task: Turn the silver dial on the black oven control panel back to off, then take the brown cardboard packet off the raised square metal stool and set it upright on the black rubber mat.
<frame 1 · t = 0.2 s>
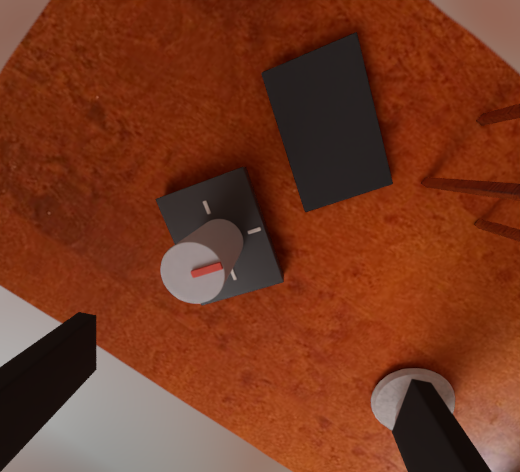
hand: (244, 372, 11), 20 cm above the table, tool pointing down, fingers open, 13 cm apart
square metal stool: (480, 174, 27), on the table
table lamp: (409, 396, 34), on the table
mat: (327, 131, 27), on the table
oven dial: (208, 255, 24), point 7 cm above the table, hinge at 90.0°
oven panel: (224, 236, 31), on the table
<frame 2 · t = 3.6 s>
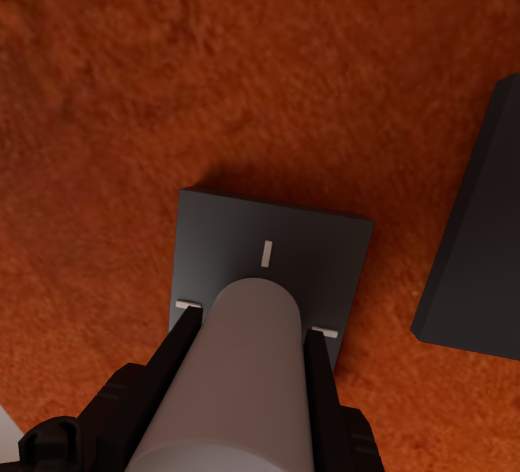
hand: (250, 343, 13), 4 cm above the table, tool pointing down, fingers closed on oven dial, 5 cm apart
oven dial: (242, 382, 11), point 7 cm above the table, hinge at 90.0°, touching gripper
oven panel: (259, 300, 17), on the table
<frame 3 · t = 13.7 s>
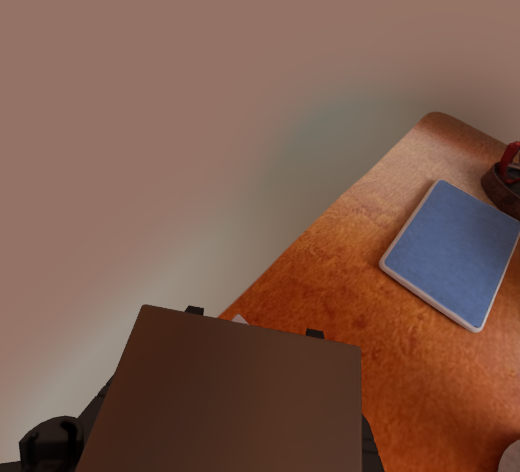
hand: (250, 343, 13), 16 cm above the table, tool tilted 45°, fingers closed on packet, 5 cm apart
packet: (235, 429, 13), point 14 cm above the table, touching gripper, square metal stool
tablet: (449, 247, 35), on the table
when the fingers open (3 cm above the table, at t = 24.0 s): packet stays where it is, resting on mat.
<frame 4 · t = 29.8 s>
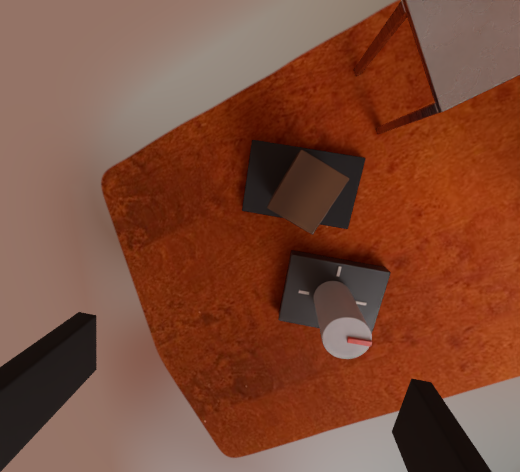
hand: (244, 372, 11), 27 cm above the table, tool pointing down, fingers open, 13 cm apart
square metal stool: (398, 86, 31), on the table
packet: (301, 186, 34), point 1 cm above the table, touching mat
mat: (300, 184, 35), on the table
oven dial: (338, 316, 32), point 7 cm above the table, hinge at 1.4°
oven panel: (329, 290, 38), on the table
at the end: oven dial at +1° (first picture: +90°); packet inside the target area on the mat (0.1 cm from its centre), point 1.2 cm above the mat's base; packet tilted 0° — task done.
